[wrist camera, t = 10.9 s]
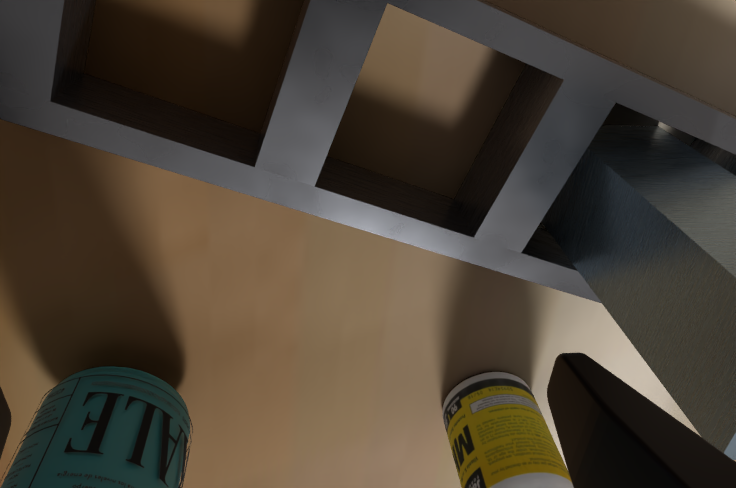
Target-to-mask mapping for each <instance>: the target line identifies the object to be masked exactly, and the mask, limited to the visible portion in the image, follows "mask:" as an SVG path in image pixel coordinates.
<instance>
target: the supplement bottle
mask: <svg viewBox="0 0 736 488" xmlns="http://www.w3.org/2000/svg"><path fill="white" fill-rule="evenodd" d="M443 419H444V424H445V428H446V431H447V435H448V439H449V442H450V446H451V450H452V453H453V457H454V461H455V464H456V469H457V472H458V476H459V479H460V483H461V487H462V488H574V487H573V484H572V481H571V478H570V475H569V472H568V470H567V468H566V466H565V464H564V461H563V459H562V457H561V455H560V453H559V451H558V449H557V446H556V444H555V442H554V440H553V438H552V435H551V433H550V431H549V429H548V427H547V424H546V422H545V420H544V418H543V415H542V413H541V411H540V409H539V407H538V404H537V402H536V400H535V398H534V395H533V394H532V392H531V390H530V388H529V386H528V385H527V384H526V383H525V382H524V381H523V380H522V379H521V378H519V377H517V376H515V375H512V374H509V373H504V372H489V373H483V374H479V375H476V376H473V377H471V378H469V379H466V380H465V381H463V382H461V383H460V384H458V385H457V386H456V387H455V388H454V389H453V390H452V391H451V392H450V393H449V394H448V396H447V398H446V400H445V402H444V405H443Z"/></svg>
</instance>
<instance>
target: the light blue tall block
mask: <svg viewBox="0 0 736 488" xmlns="http://www.w3.org/2000/svg"><path fill="white" fill-rule="evenodd" d="M541 222H542V223H543V225H544V226H545V227H546V229H547V230H548V231H549V233H550V234H551V235H552V237H553V238H554V239H555V241H556V242H557V243H558V245H559V246H560V248H561V249H562V250H563V252H564V253H565V254H566V256H567V257H568V258H569V260H570V261H571V262H572V264H573V265H574V266H575V268H576V269H577V270H578V272H579V273H580V274H581V276H582V277H583V278H584V280H585V281H586V282H587V284H588V285H589V286H590V288H591V289H592V290H593V292H594V293H595V294H596V296H597V297H598V299H599V300H600V301H601V303H602V304H603V305H604V307H605V308H606V309H607V311H608V312H609V313H610V315H611V316H612V317H613V319H614V320H615V321H616V323H617V324H618V325H619V327H620V328H621V329H622V331H623V332H624V333H625V335H626V336H627V337H628V339H629V340H630V341H631V343H632V344H633V345H634V347H635V348H636V350H637V351H638V352H639V354H640V355H641V356H642V358H643V359H644V360H645V362H646V363H647V364H648V366H649V367H650V368H651V370H652V371H653V372H654V374H655V375H656V376H657V378H658V379H659V380H660V382H661V383H662V384H663V386H664V387H665V388H666V390H667V391H668V392H669V394H670V395H671V397H672V398H673V399H674V401H675V402H676V403H677V405H678V406H679V407H680V409H681V410H682V411H683V413H684V414H685V415H686V417H687V418H688V419H689V421H690V422H691V423H692V425H693V426H694V427H695V429H696V430H697V431H698V433H699V434H700V435H701V437H702V438H703V439H705V440H706V441H707V442H709V443H710V444H712V445H713V446H714V447H716V448H717V449H719V450H720V451H721V452H723V453H724V454H726V455H727V456H728V457H730V458H731V459H732V460H736V176H735V175H733V174H732V173H730V172H729V171H727V170H726V169H724V168H722V167H721V166H719V165H718V164H716V163H715V162H713V161H712V160H710V159H708V158H707V157H705V156H704V155H702V154H701V153H699V152H698V151H696V150H694V149H693V148H691V147H690V146H688V145H687V144H685V143H684V142H682V141H680V140H679V139H677V138H676V137H674V136H673V135H671V134H670V133H668V132H666V131H665V130H663V129H662V128H660V127H659V126H625V125H601V127H600V128H599V130H598V132H597V133H596V135H595V136H594V138H593V140H592V141H591V143H590V144H589V146H588V148H587V149H586V151H585V152H584V154H583V155H582V157H581V159H580V160H579V162H578V163H577V165H576V167H575V168H574V170H573V171H572V173H571V175H570V176H569V178H568V179H567V181H566V182H565V184H564V186H563V187H562V189H561V190H560V192H559V194H558V195H557V197H556V198H555V200H554V202H553V203H552V205H551V206H550V208H549V209H548V211H547V213H546V214H545V216H544V217H543V219H542V221H541Z"/></svg>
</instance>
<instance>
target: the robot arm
mask: <svg viewBox="0 0 736 488" xmlns="http://www.w3.org/2000/svg"><path fill="white" fill-rule="evenodd" d="M547 398H548V403H549V406H550V410H551V413H552V417H553V420H554V424H555V427H556V431H557V434H558V437H559V441H560V444H561V448H562V451H563V455H564V458H565V462H566V465H567V468H568V472H569V475H570V478H571V481H572V484H573V487H574V488H736V462H735V461H734V460H732V459H731V458H730V457H728V456H727V455H726V454H724V453H723V452H721V451H720V450H719V449H717V448H716V447H714V446H713V445H712V444H710V443H709V442H707V441H706V440H705V439H703V438H702V437H700V436H699V435H698V434H696V433H695V432H693V431H692V430H691V429H689V428H688V427H686V426H685V425H684V424H682V423H681V422H679V421H678V420H677V419H675V418H674V417H672V416H671V415H670V414H668V413H667V412H665V411H664V410H663V409H661V408H660V407H658V406H657V405H656V404H654V403H653V402H651V401H650V400H649V399H647V398H646V397H644V396H643V395H642V394H640V393H639V392H637V391H636V390H635V389H633V388H632V387H630V386H629V385H628V384H626V383H625V382H623V381H622V380H621V379H619V378H618V377H616V376H615V375H614V374H612V373H611V372H609V371H608V370H607V369H605V368H604V367H602V366H601V365H600V364H598V363H597V362H595V361H594V360H593V359H591V358H590V357H588V356H587V355H585V354H583V353H562V354H560V355H558V357H557V358H556V360H555V364H554V367H553V371H552V374H551V377H550V381H549V384H548V388H547ZM10 426H11V412H10V409H9V407H8V404H7V402H6V399H5V397H4V394H3V392H2V389H1V387H0V458H1V455H2V452H3V449H4V446H5V443H6V439H7V436H8V433H9V430H10Z"/></svg>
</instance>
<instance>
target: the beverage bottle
mask: <svg viewBox="0 0 736 488" xmlns="http://www.w3.org/2000/svg"><path fill="white" fill-rule="evenodd" d="M52 389H53V390H52ZM52 389H51V390H52V391H51V390H50V391H51V392H50V393H49V394H48V395H47V397H46V398H45V400H44V402H43V403H42V405H41V407H40V409H39V410H38V411H37V410H36V411H37V412H38V413H37V415H36V417H35V419H34V421H33V423H32V425H31V427H30V429H29V431H28V432H27V433H26V434H25V435H27V436H26V438H25V439H24V440H23V441H24V442H23V441H22V442H23V444H22V446H21V448H20V450H19V452H18V454H17V456H16V458H15V460H14V462H13V464H12V466H11V468H10V470H9V472H8V474H7V476H6V477H5V479H4V482H3V484H2V486H1V488H181V487H180V486H181V483H182V481H184V476H185V472H184V467H185V460H186V459H185V458H187V461H188V457H189V452H188V457H186V452H187V451H186V448H187V442H188V437H189V434H190V433H189V432H190V421H191V420H189V419H190V417H189V414H188V410H187V407H186V404H185V402H184V401H183V399H182V397H181V396H180V395H179V394H178V392H177V391H176V390H175V389H174V388H173V387H172V386H170V385H169V384H168V383H166V382H165V381H163V380H161V379H160V378H158V377H156V376H154V375H151V374H149V373H146V372H143V371H140V370H136V369H132V368H126V367H115V366H107V367H96V368H91V369H86V370H83V371H80V372H77V373H75V374H73V375H71V376H69V377H67V378H66V379H64V380H63V381H62V382H61V383H59V384H58V385H57V386H56V387H54V388H52ZM48 392H49V391H48ZM48 392H47V393H48ZM47 393H46V394H47ZM46 394H45V395H46ZM45 395H44V396H45ZM42 399H43V398H42ZM41 401H42V400H41ZM40 403H41V402H40ZM39 405H40V404H39ZM38 407H39V406H38ZM37 409H38V408H37ZM35 413H36V412H35ZM34 415H35V414H34ZM33 417H34V416H33ZM32 419H33V418H32ZM191 425H192V423H191ZM192 433H193V427H192ZM25 435H24V436H25ZM190 436H191V435H190ZM190 440H191V437H190ZM22 442H21V441H20V443H22ZM20 443H19V444H20ZM190 444H191V443H190ZM18 446H19V445H18ZM189 447H190V446H189ZM17 448H18V447H17ZM16 450H17V449H16ZM187 450H188V449H187ZM189 450H190V449H189ZM15 452H16V451H15ZM14 454H15V453H14ZM13 456H14V455H13ZM12 458H13V457H12ZM11 460H12V459H11ZM10 462H11V461H10ZM9 464H10V463H9ZM8 466H9V465H8ZM186 466H187V462H186ZM7 468H8V467H7ZM6 470H7V469H6ZM185 471H186V467H185ZM5 472H6V471H5ZM181 472H182V475H181ZM4 474H5V473H4ZM183 474H184V475H183ZM3 476H4V475H3ZM180 477H181V482H180ZM179 482H180V484H179ZM182 487H183V483H182Z"/></svg>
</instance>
